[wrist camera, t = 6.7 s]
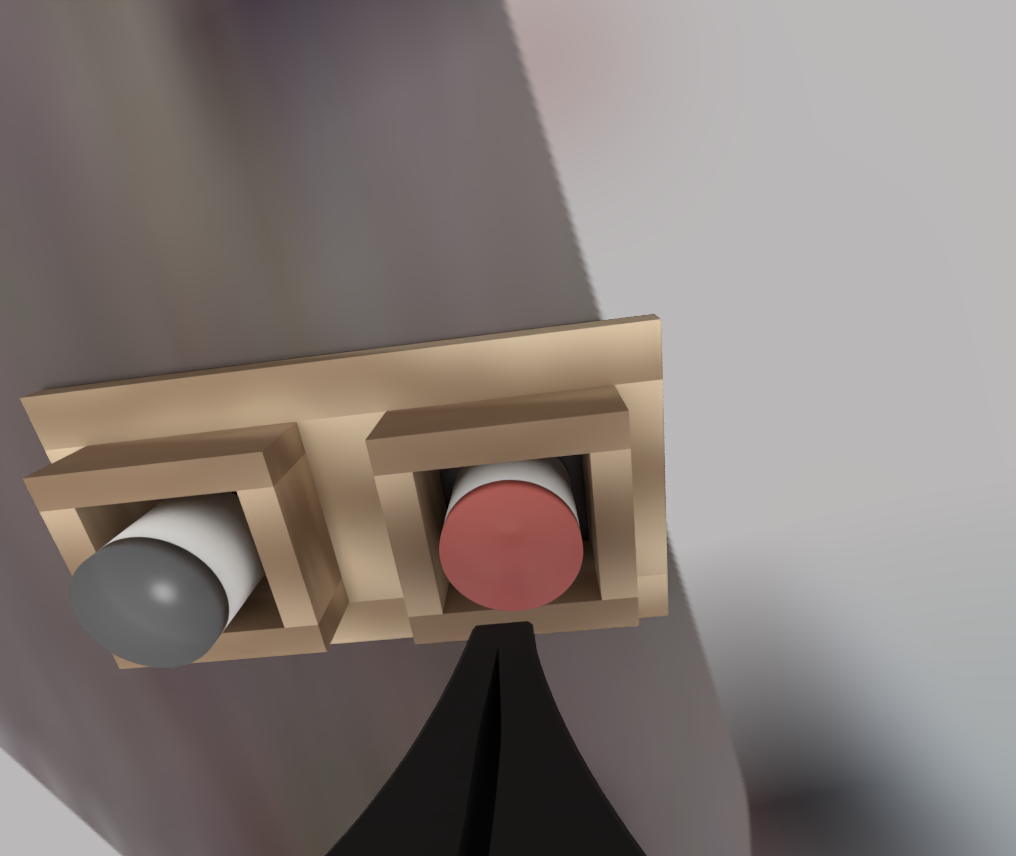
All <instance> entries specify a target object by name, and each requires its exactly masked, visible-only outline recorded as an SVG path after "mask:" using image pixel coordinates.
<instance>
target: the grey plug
mask: <svg viewBox="0 0 1016 856" xmlns="http://www.w3.org/2000/svg"><path fill="white" fill-rule="evenodd" d="M265 574H266V573H265V570H264V568H263V565H262V562H261V559H260V556H259V553H258V551H257V548H256V545H255V542H254V539H253V536H252V534H251V531H250V528H249V525H248V522H247V519H246V517H245V514H244V511H243V508H242V505H241V502H240V500H239V497H238V496H237V495H235V494H233V493H230V492H221V493H212V494H203V495H193V496H184V497H174V498H165V499H164V500H163V501H162V502H160V503H159V504H158V505H156V506H155V507H154V508H152V509H151V510H150V511H149V512H147V513H146V514H145V515H143V516H142V517H141V518H139V519H138V520H137V521H136V522H134V523H133V524H132V525H130V526H129V527H128V528H126V529H125V530H124V531H123V532H121V533H120V534H119V535H117V536H116V537H115V538H113V539H112V540H111V541H110V542H108V543H107V544H106V545H104V546H103V547H102V548H100V549H99V550H98V551H97V552H95V553H94V554H93V555H91V556H90V557H89V558H87V559H86V560H85V561H84V562H83V563H82V564H81V565H80V566H79V567H78V568H77V569H76V571H75V572H74V574H73V577H72V579H71V583H70V589H69V596H70V603H71V606H72V610H73V612H74V614H75V616H76V618H77V620H78V622H79V623H80V625H81V626H82V628H83V629H84V630H85V631H86V633H87V634H88V635H89V636H90V637H91V638H92V639H93V640H94V641H96V642H97V643H98V644H99V645H100V646H102V647H103V648H105V649H106V650H108V651H109V652H111V653H113V654H114V655H116V656H118V657H120V658H123V659H125V660H127V661H130V662H133V663H136V664H140V665H144V666H150V667H159V668H170V667H178V666H182V665H186V664H189V663H192V662H194V661H196V660H198V659H199V658H201V657H202V656H204V655H205V654H206V653H207V652H208V651H209V650H210V649H211V647H212V646H213V645H214V643H215V642H216V641H217V639H218V638H219V637H220V635H221V634H222V632H223V631H224V630H225V628H226V627H227V626H228V624H229V623H230V622H231V620H232V619H233V617H234V616H235V615H236V613H237V612H238V611H239V609H240V608H241V607H242V605H243V604H244V602H245V601H246V600H247V598H248V597H249V596H250V594H251V593H252V592H253V590H254V589H255V587H256V586H257V585H258V583H259V582H260V581H261V579H262V578H263V577H264V575H265Z"/></svg>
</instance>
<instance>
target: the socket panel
mask: <svg viewBox="0 0 1016 856" xmlns="http://www.w3.org/2000/svg"><path fill="white" fill-rule="evenodd" d="M20 399H21V402H22V404H23V406H24V408H25V410H26V412H27V414H28V416H29V418H30V420H31V422H32V424H33V426H34V428H35V430H36V433H37V435H38V437H39V439H40V441H41V443H42V445H43V447H44V449H45V451H46V453H47V455H48V457H49V459H50V461H51V464H50V465H48V466H46V467H44V468H42V469H40V470H38V471H36V472H34V473H32V474H30V475H28V476H26V477H25V478H23V480H24V482H25V484H26V486H27V488H28V490H29V492H30V494H31V496H32V498H33V500H34V502H35V504H36V506H37V508H38V510H39V512H40V514H41V516H42V518H43V519H44V521H45V523H46V525H47V527H48V529H49V531H50V533H51V535H52V537H53V539H54V541H55V543H56V545H57V547H58V549H59V551H60V553H61V555H62V557H63V559H64V561H65V562H66V564H67V566H68V568H69V570H70V572H71V574H72V576H73V574H74V572H75V571H76V569H77V568H78V567H79V566H80V565H81V564H82V563H83V562H84V561H85V560H86V559H87V558H89V557H90V556H91V555H93V554H94V553H95V552H97V551H98V550H99V549H100V548H102V547H103V546H104V545H106V544H107V543H108V542H110V541H111V540H112V539H113V538H115V537H116V536H117V535H119V534H120V533H121V532H123V531H124V530H125V529H126V528H128V527H129V526H130V525H132V524H133V523H134V522H136V521H137V520H138V519H139V518H141V517H142V516H143V515H145V514H146V513H147V512H149V511H150V510H151V509H152V508H154V507H155V506H156V505H158V504H159V503H160V502H162V501H163V500H164V499H165V498H174V497H184V496H193V495H203V494H212V493H221V492H231V491H237V494H238V497H239V500H240V502H241V505H242V508H243V511H244V514H245V517H246V519H247V522H248V525H249V528H250V531H251V534H252V536H253V539H254V542H255V545H256V548H257V551H258V553H259V556H260V559H261V562H262V565H263V568H264V570H265V573H266V574H265V575H264V577H263V578H262V579H261V581H260V582H259V583H258V585H257V586H256V587H255V589H254V590H253V592H252V593H251V594H250V596H249V597H248V598H247V600H246V601H245V602H244V604H243V605H242V607H241V608H240V609H239V611H238V612H237V613H236V615H235V616H234V617H233V619H232V620H231V622H230V623H229V624H228V626H227V627H226V628H225V630H224V631H223V632H222V634H221V635H220V637H219V638H218V639H217V641H216V642H215V643H214V645H213V646H212V647H211V649H210V650H209V651H208V652H207V653H206V654H205V655H204V656H202V657H201V658H199V659H198V660H196V661H194V662H192V663H198V662H210V661H222V660H234V659H246V658H258V657H270V656H282V655H294V654H306V653H318V652H327V650H328V648H329V646H330V644H338V643H350V642H361V641H373V640H385V639H397V638H409V637H413V638H414V642H415V644H426V643H438V642H450V641H462V640H468V639H469V637H470V634H471V631H472V629H473V628H474V627H475V626H476V625H487V624H498V623H510V622H521V621H529V622H530V623H531V624H533V628H534V634H545V633H557V632H569V631H581V630H593V629H605V628H617V627H629V626H639V618H646V617H657V616H668V577H667V536H666V497H665V496H666V495H665V456H664V415H663V373H662V330H661V319H660V318H659V317H657V316H656V315H655V314H650V315H642V316H634V317H626V318H619V319H610V320H602V321H594V322H586V323H578V324H570V325H562V326H553V327H545V328H537V329H529V330H521V331H513V332H505V333H497V334H489V335H481V336H473V337H465V338H457V339H449V340H441V341H432V342H424V343H416V344H408V345H400V346H392V347H384V348H376V349H368V350H360V351H352V352H344V353H336V354H328V355H320V356H312V357H303V358H295V359H287V360H279V361H271V362H263V363H255V364H247V365H239V366H231V367H223V368H215V369H207V370H199V371H191V372H183V373H174V374H166V375H158V376H150V377H142V378H134V379H126V380H118V381H110V382H102V383H94V384H86V385H78V386H70V387H62V388H53V389H45V390H42V391H39V392H36V393H33V394H30V395H27V396H24V397H22V398H20ZM577 454H582V464H583V476H584V487H585V499H586V510H587V522H588V534H589V540H582V543H583V559H582V564H581V567H580V570H579V573H578V575H577V577H576V578H575V580H574V581H573V583H572V584H571V585H570V587H569V588H568V589H567V590H566V591H565V592H564V593H563V594H561V595H560V596H559V597H557V598H556V599H554V600H553V601H551V602H549V603H547V604H545V605H542V606H540V607H537V608H533V609H529V610H523V611H501V610H496V609H491V608H488V607H484V606H482V605H479V604H477V603H475V602H473V601H471V600H470V599H468V598H467V597H465V596H464V595H462V594H461V593H460V592H459V591H458V590H457V589H456V588H455V587H454V586H453V585H452V584H451V582H450V581H449V579H448V578H447V576H446V574H445V572H444V570H443V568H442V565H441V561H440V555H439V543H440V537H441V533H442V529H443V526H444V522H445V518H446V514H447V507H446V502H445V497H444V492H443V487H442V482H441V476H440V471H439V469H446V468H456V467H465V466H474V465H484V464H493V463H502V462H512V461H521V460H531V459H540V458H549V457H559V456H568V455H577ZM112 654H113V653H112ZM113 656H114V658H115V660H116V662H117V664H118V666H119V668H120V669H126V668H138V667H150V666H144V665H140V664H136V663H133V662H130V661H127V660H125V659H123V658H120V657H118V656H116V655H114V654H113Z"/></svg>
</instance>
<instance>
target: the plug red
mask: <svg viewBox="0 0 1016 856" xmlns="http://www.w3.org/2000/svg"><path fill="white" fill-rule="evenodd" d="M439 555H440V561H441V565H442V568H443V570H444V572H445V574H446V576H447V578H448V579H449V581H450V582H451V584H452V585H453V586H454V587H455V588H456V589H457V590H458V591H459V592H460V593H461V594H462V595H464V596H465V597H467V598H468V599H470V600H471V601H473V602H475V603H477V604H479V605H482V606H484V607H488V608H491V609H496V610H501V611H523V610H529V609H533V608H537V607H540V606H542V605H545V604H547V603H549V602H551V601H553V600H554V599H556V598H557V597H559V596H560V595H561V594H563V593H564V592H565V591H566V590H567V589H568V588H569V587H570V585H571V584H572V583H573V581H574V580H575V578H576V577H577V575H578V573H579V570H580V567H581V564H582V559H583V543H582V537H581V532H580V527H579V521H578V516H577V511H576V506H575V500H574V495H573V490H572V485H571V480H570V477H569V474H568V472H567V470H566V468H565V466H564V465H563V463H562V462H561V461H560V460H559V459H558V457H549V458H540V459H531V460H521V461H512V462H502V463H493V464H484V465H474V466H465V467H460V469H459V471H458V474H457V477H456V480H455V483H454V487H453V491H452V495H451V499H450V503H449V506H448V510H447V514H446V518H445V522H444V526H443V529H442V533H441V537H440V543H439Z"/></svg>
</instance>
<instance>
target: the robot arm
mask: <svg viewBox="0 0 1016 856" xmlns="http://www.w3.org/2000/svg"><path fill="white" fill-rule="evenodd" d="M325 856H647V855H646V854H645V853H644V851H643V850H642V849H641V847H640V846H639V844H638V843H637V842H636V840H635V839H634V838H633V836H632V835H631V834H630V832H629V831H628V829H627V828H626V826H625V825H624V823H623V822H622V820H621V819H620V817H619V816H618V814H617V813H616V811H615V810H614V808H613V807H612V805H611V804H610V802H609V801H608V799H607V798H606V796H605V795H604V793H603V792H602V790H601V788H600V787H599V785H598V783H597V782H596V780H595V778H594V777H593V775H592V773H591V772H590V770H589V768H588V766H587V765H586V763H585V761H584V759H583V757H582V756H581V754H580V752H579V750H578V748H577V747H576V745H575V743H574V741H573V739H572V737H571V735H570V733H569V731H568V729H567V727H566V725H565V723H564V721H563V718H562V716H561V714H560V712H559V710H558V708H557V705H556V703H555V701H554V698H553V696H552V693H551V691H550V688H549V686H548V683H547V681H546V678H545V675H544V673H543V670H542V667H541V664H540V660H539V657H538V653H537V649H536V642H535V635H534V628H533V624H531V623H530V622H529V621H521V622H510V623H498V624H487V625H476V626H475V627H474V628H473V629H472V631H471V634H470V637H469V639H468V642H467V644H466V647H465V649H464V651H463V653H462V656H461V658H460V660H459V662H458V664H457V666H456V668H455V671H454V673H453V675H452V677H451V678H450V680H449V682H448V684H447V686H446V688H445V690H444V692H443V694H442V696H441V698H440V699H439V701H438V703H437V705H436V707H435V708H434V710H433V712H432V713H431V715H430V717H429V718H428V720H427V722H426V724H425V725H424V727H423V729H422V730H421V732H420V734H419V735H418V737H417V738H416V740H415V742H414V743H413V745H412V746H411V748H410V749H409V751H408V752H407V754H406V755H405V757H404V758H403V760H402V761H401V762H400V764H399V765H398V767H397V768H396V770H395V771H394V772H393V774H392V775H391V777H390V778H389V779H388V781H387V782H386V783H385V785H384V786H383V787H382V789H381V790H380V791H379V792H378V794H377V795H376V796H375V798H374V799H373V800H372V801H371V803H370V804H369V805H368V807H367V808H366V809H365V810H364V812H363V813H362V814H361V815H360V817H359V818H358V819H357V820H356V821H355V823H354V824H353V825H352V826H351V827H350V828H349V829H348V831H347V832H346V833H345V834H344V835H343V836H342V837H341V838H340V840H339V841H338V842H337V843H336V844H335V845H334V846H333V847H332V848H331V850H330V851H329V852H328V853H327V854H326V855H325Z"/></svg>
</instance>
